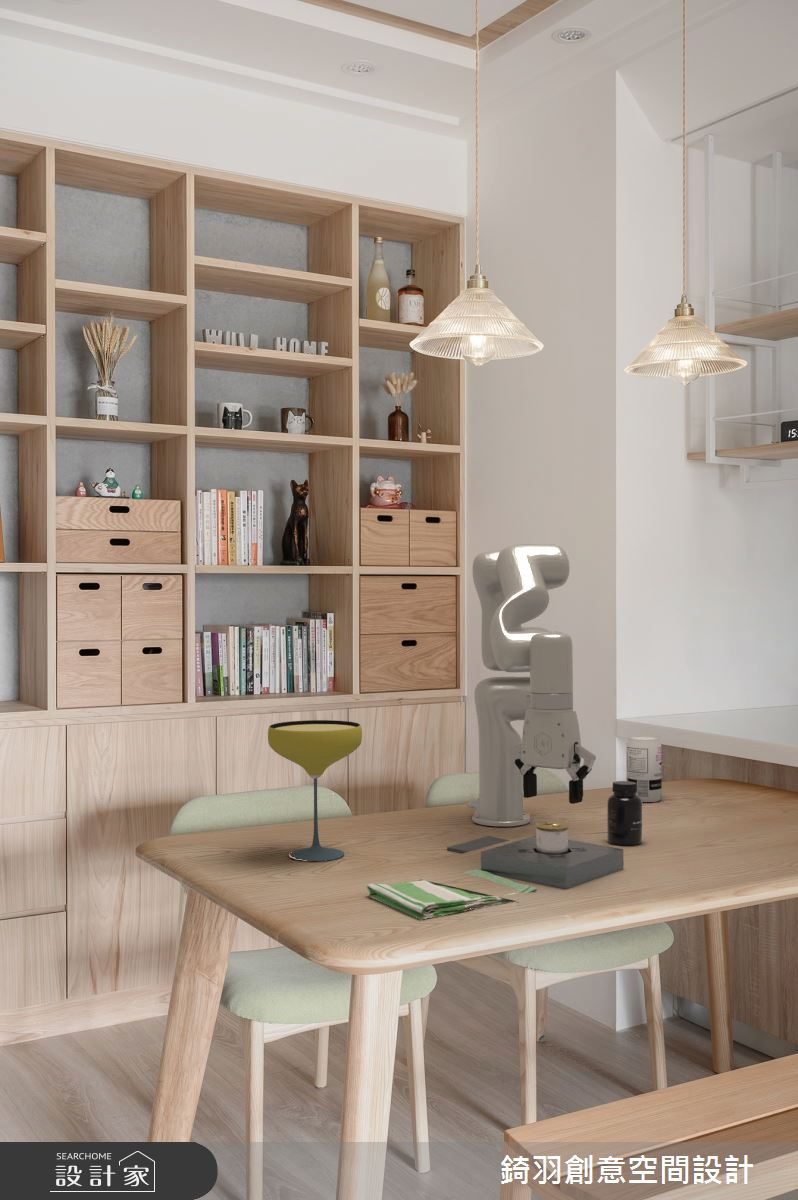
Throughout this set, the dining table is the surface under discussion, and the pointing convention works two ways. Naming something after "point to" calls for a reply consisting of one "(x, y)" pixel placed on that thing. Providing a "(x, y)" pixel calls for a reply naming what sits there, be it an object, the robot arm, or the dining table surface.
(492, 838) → the mat
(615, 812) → the supplement bottle
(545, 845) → the can with gold end
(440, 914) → the dish towel
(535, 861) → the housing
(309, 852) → the cocktail glass
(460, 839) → the dining table surface
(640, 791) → the supplement can
